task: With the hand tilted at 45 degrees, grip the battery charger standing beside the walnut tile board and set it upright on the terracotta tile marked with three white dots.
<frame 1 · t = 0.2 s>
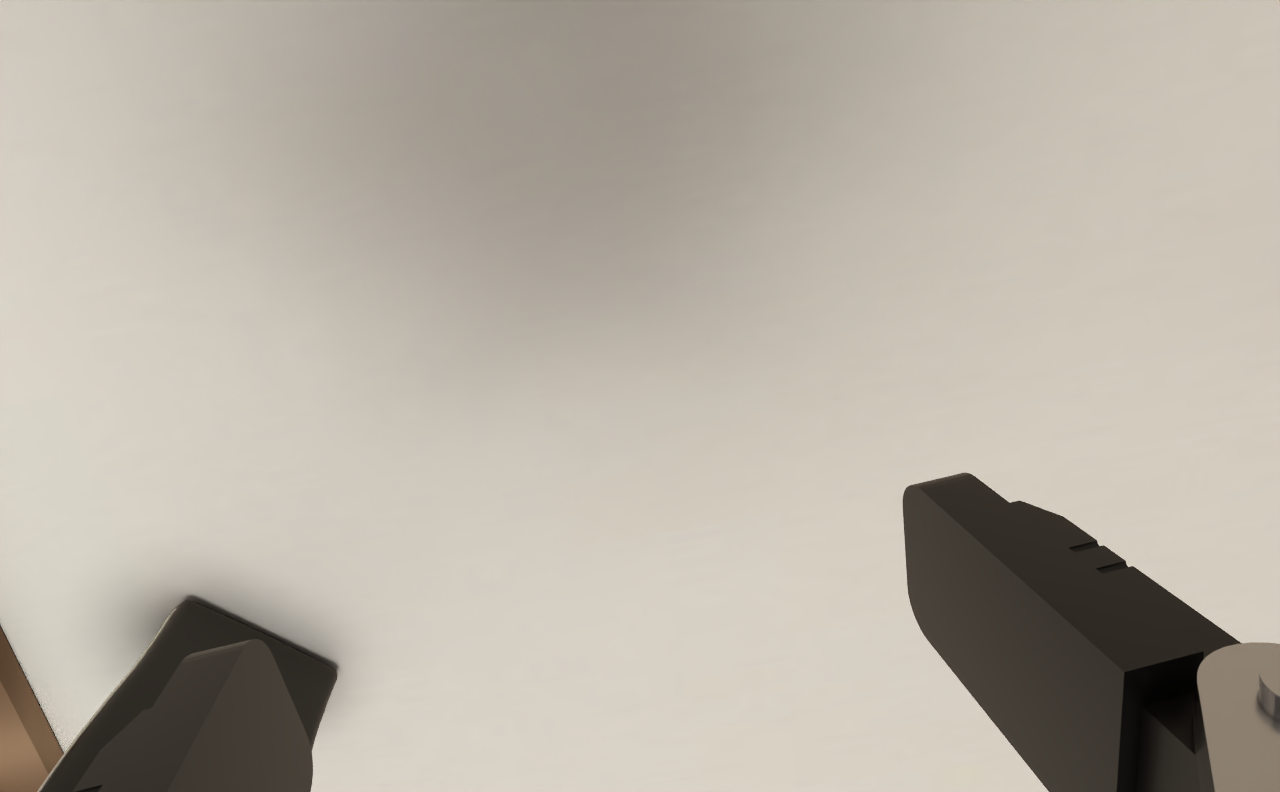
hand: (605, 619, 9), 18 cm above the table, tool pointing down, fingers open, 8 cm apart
battery charger: (246, 658, 30), on the table
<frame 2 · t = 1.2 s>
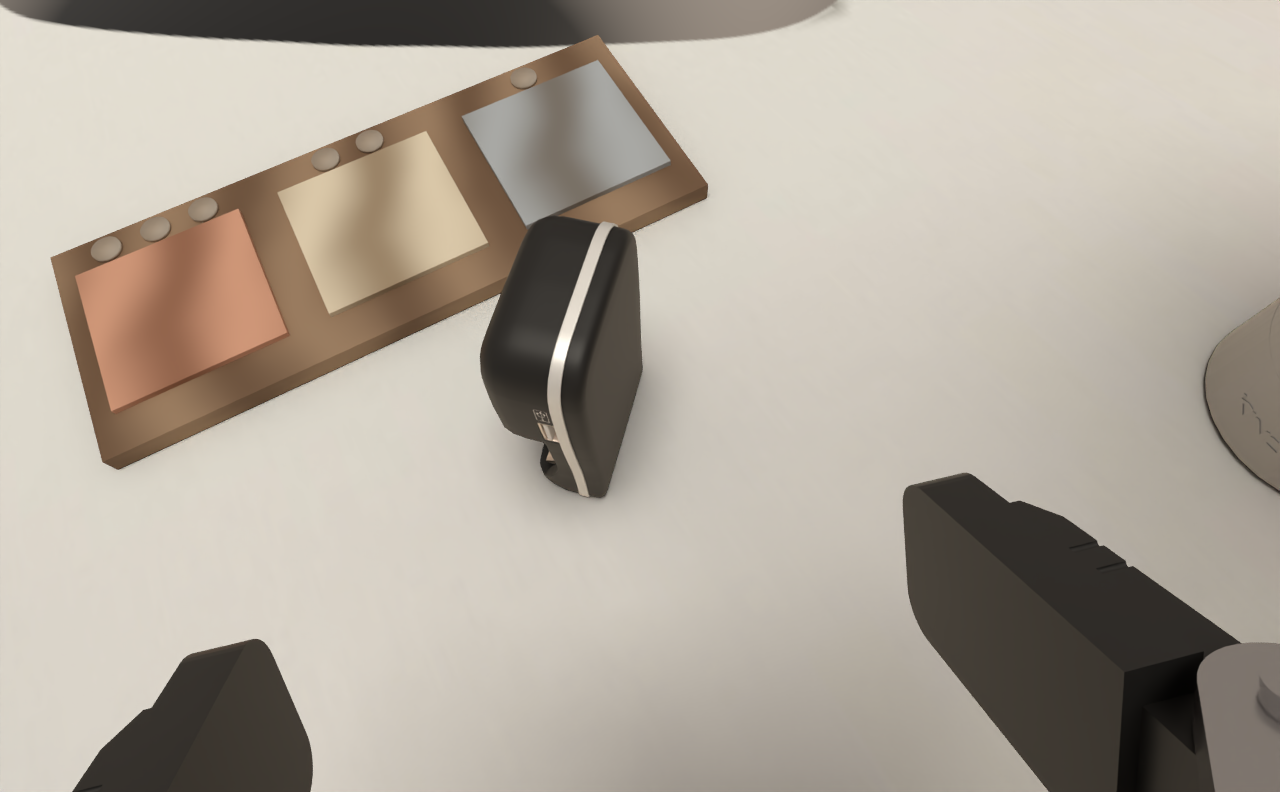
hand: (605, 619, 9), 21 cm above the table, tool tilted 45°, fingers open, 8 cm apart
tile board: (389, 233, 38), on the table
battery charger: (585, 424, 34), on the table
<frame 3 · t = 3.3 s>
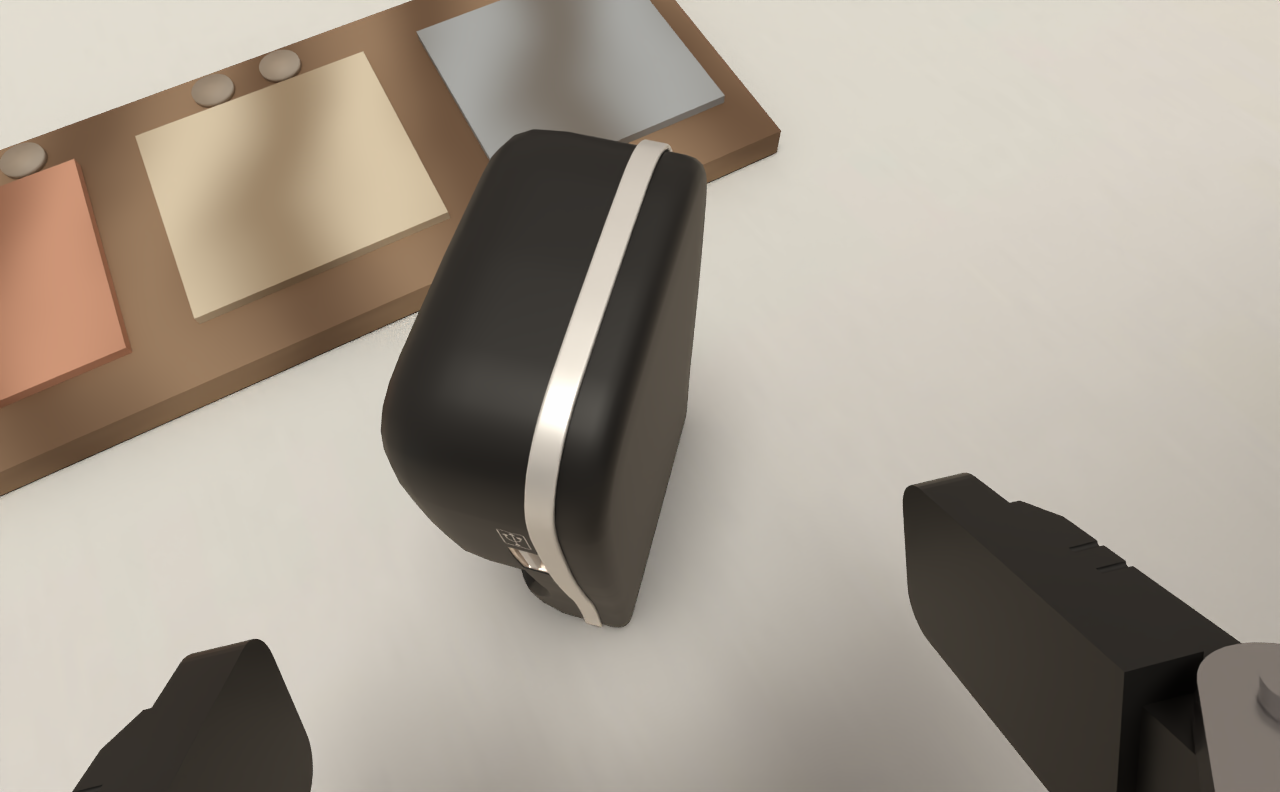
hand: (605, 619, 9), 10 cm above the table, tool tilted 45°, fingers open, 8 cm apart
tile board: (303, 199, 26), on the table
battery charger: (594, 499, 21), on the table
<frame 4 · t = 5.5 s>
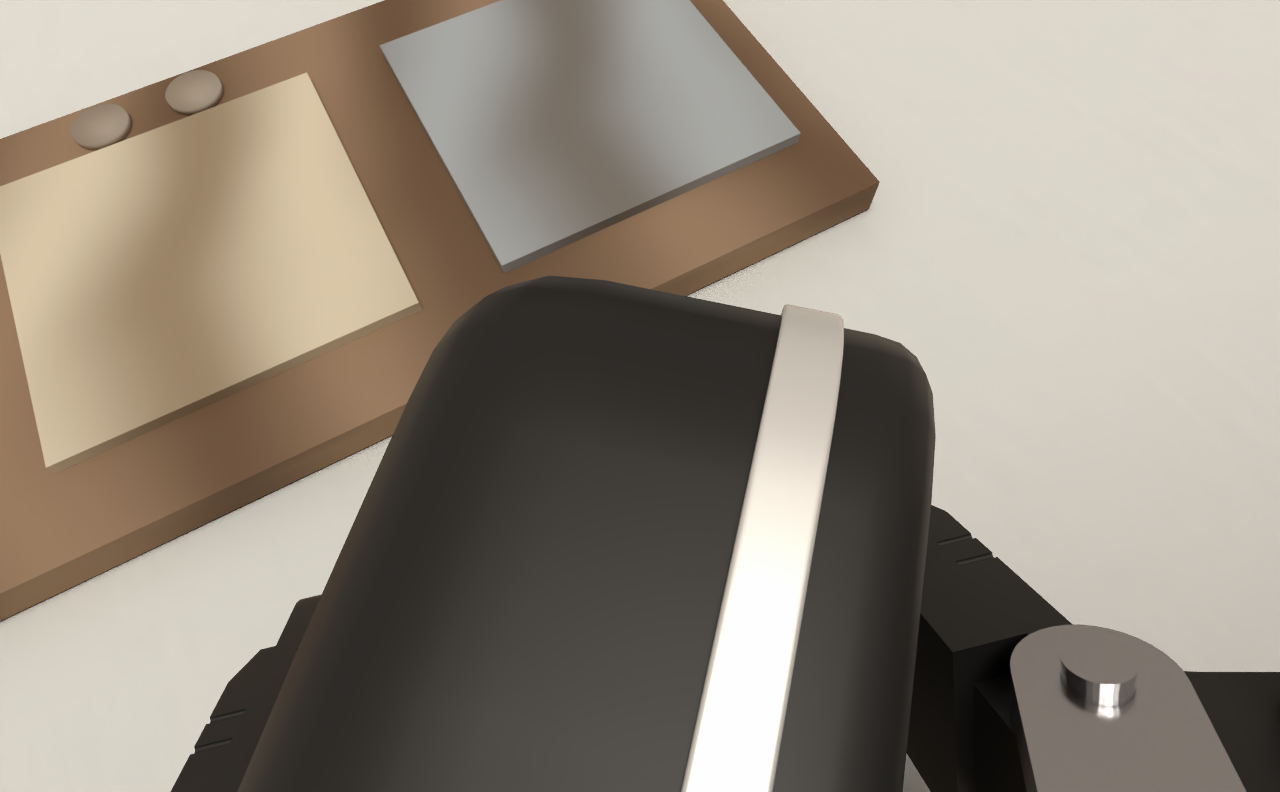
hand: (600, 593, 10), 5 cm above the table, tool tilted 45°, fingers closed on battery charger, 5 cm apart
tile board: (222, 276, 19), on the table
battery charger: (635, 742, 14), on the table, touching gripper
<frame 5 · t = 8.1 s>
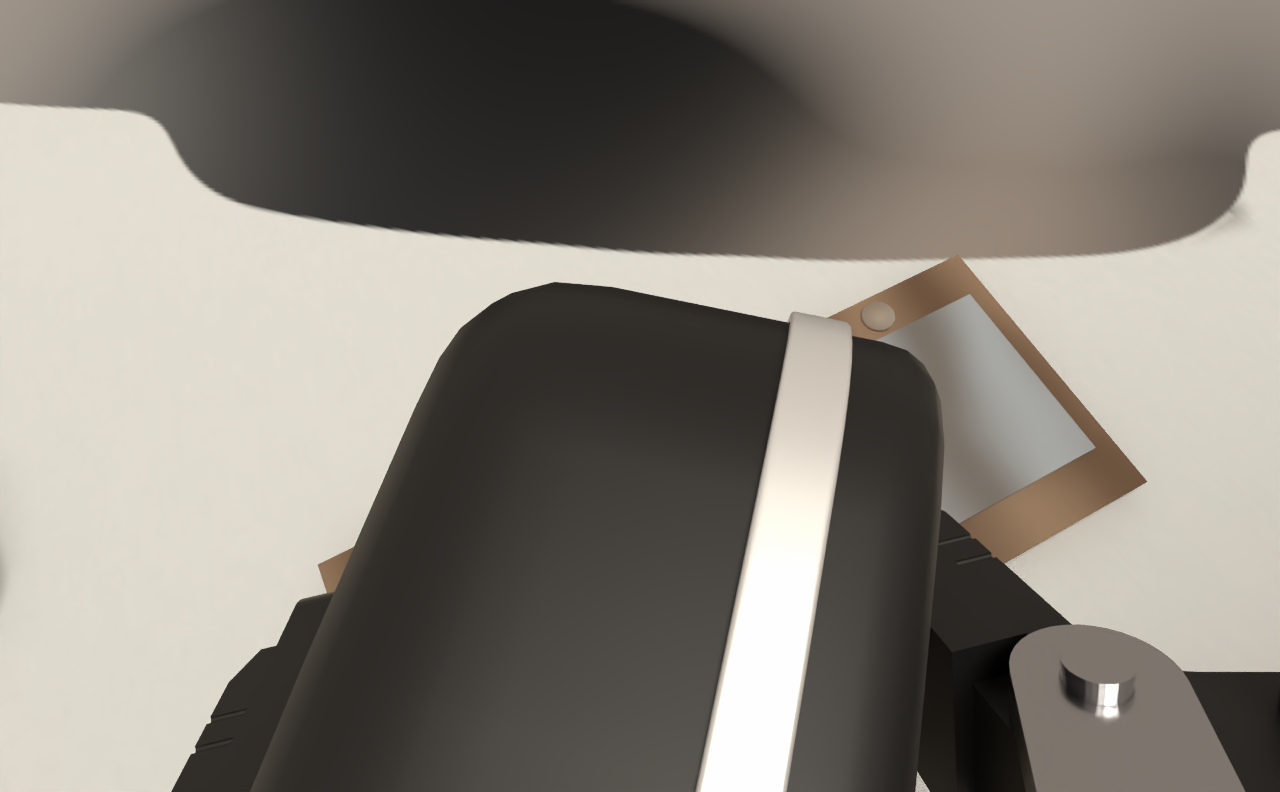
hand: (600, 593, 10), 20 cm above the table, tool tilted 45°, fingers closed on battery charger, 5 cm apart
tile board: (732, 529, 30), on the table
battery charger: (637, 746, 14), point 14 cm above the table, touching gripper
when the fingers open (8 cm above the table, at t = 11.2 s): battery charger drops 1 cm, resting on tile board.
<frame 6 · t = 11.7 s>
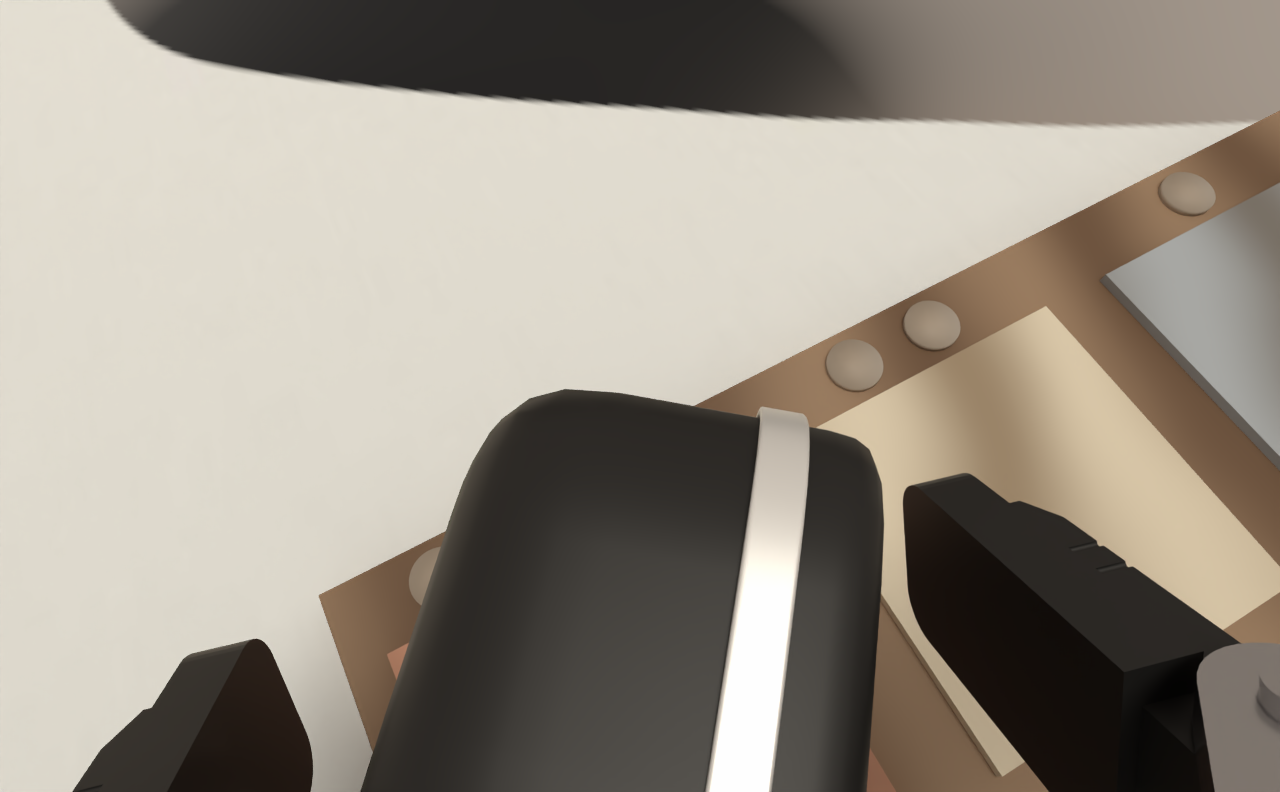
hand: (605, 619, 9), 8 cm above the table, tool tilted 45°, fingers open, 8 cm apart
tile board: (1003, 525, 18), on the table
battery charger: (640, 754, 15), point 1 cm above the table, touching tile board
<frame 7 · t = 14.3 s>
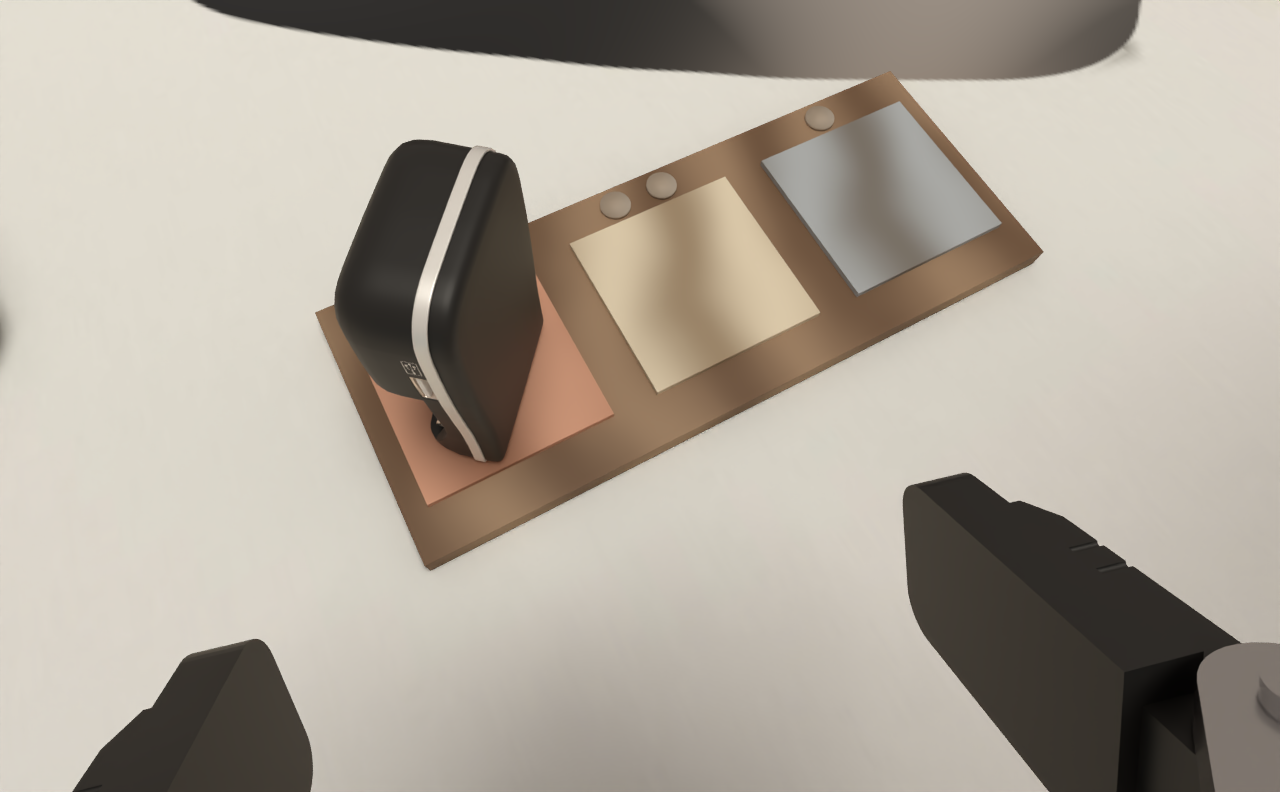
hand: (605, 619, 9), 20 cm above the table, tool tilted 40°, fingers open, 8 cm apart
tile board: (690, 292, 34), on the table
battery charger: (481, 383, 31), point 1 cm above the table, touching tile board
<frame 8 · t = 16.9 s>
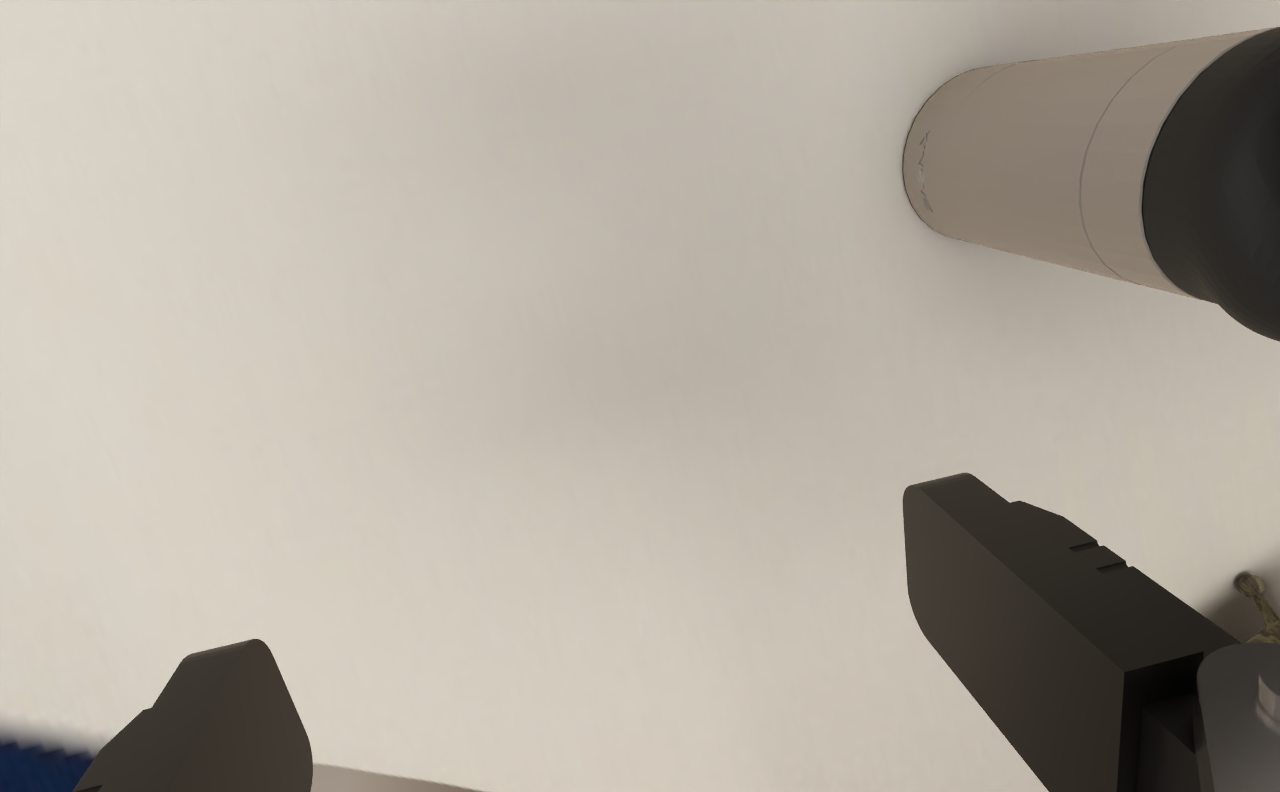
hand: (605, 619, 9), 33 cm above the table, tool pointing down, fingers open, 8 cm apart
tabletop clock: (1229, 642, 58), on the table
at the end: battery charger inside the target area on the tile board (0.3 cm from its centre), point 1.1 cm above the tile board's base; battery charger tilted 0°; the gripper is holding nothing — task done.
